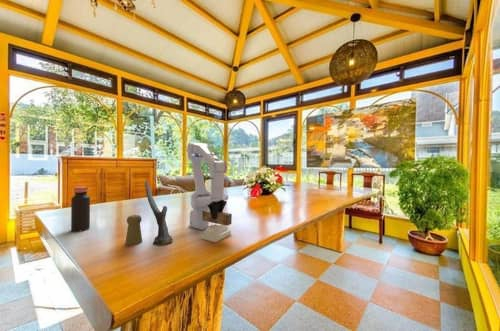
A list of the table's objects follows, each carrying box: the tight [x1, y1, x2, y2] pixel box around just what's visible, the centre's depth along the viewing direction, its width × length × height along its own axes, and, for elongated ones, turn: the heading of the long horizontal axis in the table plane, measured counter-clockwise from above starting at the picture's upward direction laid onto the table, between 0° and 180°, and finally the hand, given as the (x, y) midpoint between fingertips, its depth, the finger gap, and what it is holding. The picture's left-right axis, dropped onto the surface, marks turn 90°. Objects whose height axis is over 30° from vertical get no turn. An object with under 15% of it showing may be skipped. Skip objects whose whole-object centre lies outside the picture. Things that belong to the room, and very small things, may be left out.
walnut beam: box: [202, 210, 233, 227], centre depth 92 cm, size 14×3×4 cm, turn 61°
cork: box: [125, 214, 143, 246], centre depth 83 cm, size 6×6×11 cm
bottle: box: [70, 186, 91, 233], centre depth 96 cm, size 7×7×20 cm
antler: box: [144, 180, 174, 246], centre depth 84 cm, size 12×8×25 cm
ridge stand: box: [200, 223, 232, 243], centre depth 92 cm, size 8×11×5 cm
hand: (216, 217), depth 92 cm, fingers closed on walnut beam, 3 cm apart
